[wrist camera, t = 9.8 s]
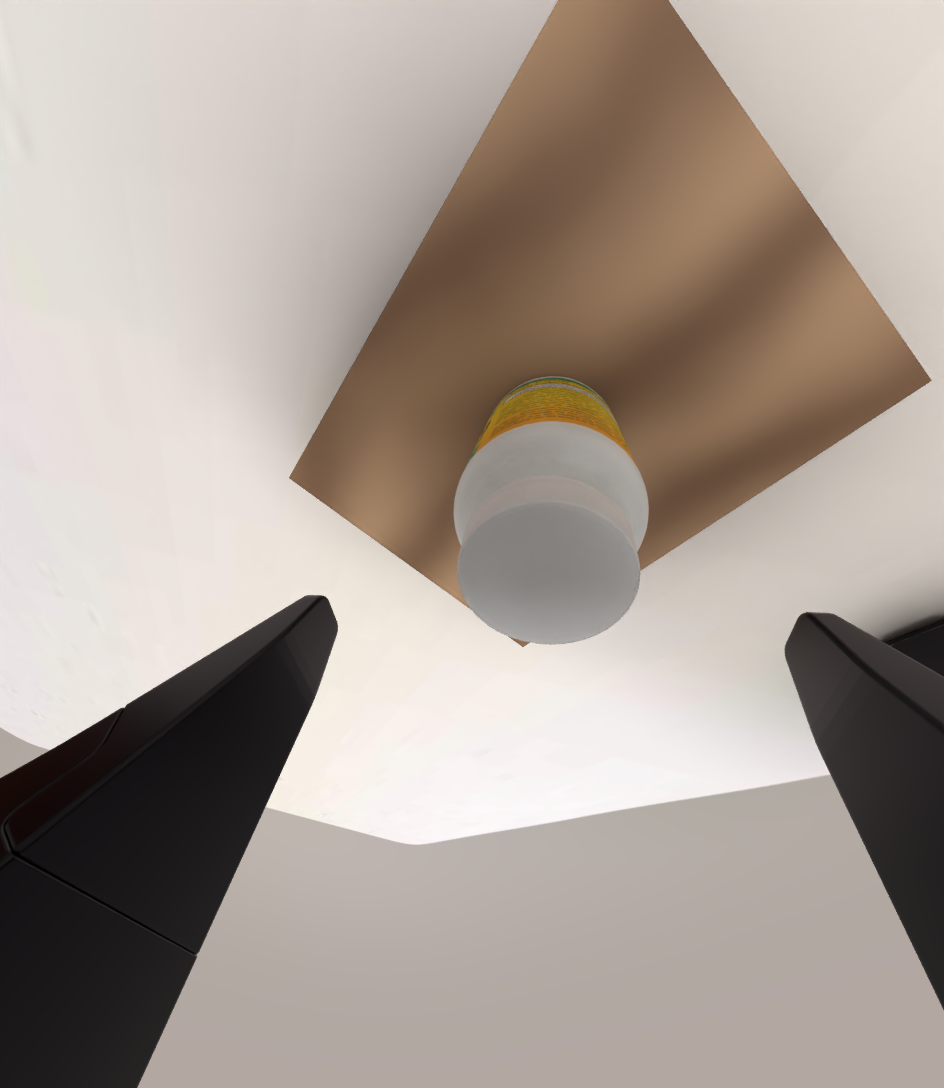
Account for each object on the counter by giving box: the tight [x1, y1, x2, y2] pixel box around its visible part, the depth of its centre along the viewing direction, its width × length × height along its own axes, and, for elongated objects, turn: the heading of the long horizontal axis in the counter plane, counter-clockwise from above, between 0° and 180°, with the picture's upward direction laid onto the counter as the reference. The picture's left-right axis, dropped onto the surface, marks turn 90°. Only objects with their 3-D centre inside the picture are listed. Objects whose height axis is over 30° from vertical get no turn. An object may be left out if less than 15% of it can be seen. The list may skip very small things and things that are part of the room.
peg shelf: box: [289, 0, 931, 647], centre depth 17 cm, size 16×20×2 cm
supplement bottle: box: [454, 376, 649, 644], centre depth 13 cm, size 5×5×10 cm
